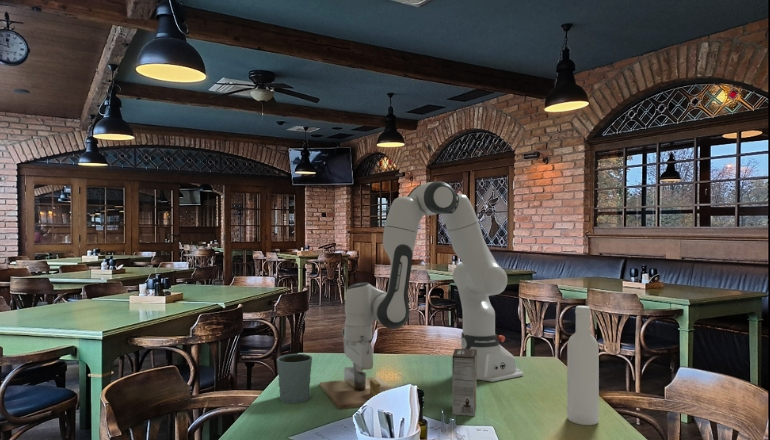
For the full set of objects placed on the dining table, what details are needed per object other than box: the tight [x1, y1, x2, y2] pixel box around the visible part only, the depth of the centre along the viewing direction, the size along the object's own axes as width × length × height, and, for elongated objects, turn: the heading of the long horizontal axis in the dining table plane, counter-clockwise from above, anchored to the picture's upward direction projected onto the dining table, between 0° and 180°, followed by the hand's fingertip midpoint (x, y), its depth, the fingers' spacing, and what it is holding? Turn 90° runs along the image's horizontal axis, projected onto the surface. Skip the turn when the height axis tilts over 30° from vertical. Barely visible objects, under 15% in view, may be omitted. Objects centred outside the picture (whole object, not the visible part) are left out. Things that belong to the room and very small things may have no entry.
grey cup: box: [276, 353, 313, 404], centre depth 154 cm, size 10×10×12 cm
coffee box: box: [451, 348, 477, 417], centre depth 145 cm, size 9×6×16 cm
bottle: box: [566, 305, 600, 426], centre depth 138 cm, size 8×8×30 cm
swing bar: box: [343, 366, 367, 390], centre depth 163 cm, size 12×4×5 cm, turn 25°
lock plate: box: [319, 376, 393, 410], centre depth 159 cm, size 20×23×5 cm
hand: (358, 376), depth 167 cm, fingers closed
